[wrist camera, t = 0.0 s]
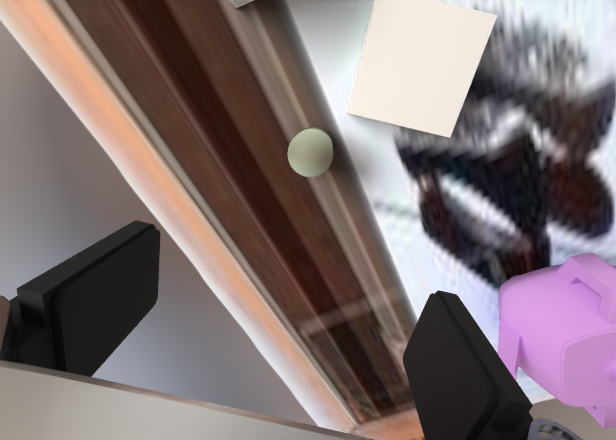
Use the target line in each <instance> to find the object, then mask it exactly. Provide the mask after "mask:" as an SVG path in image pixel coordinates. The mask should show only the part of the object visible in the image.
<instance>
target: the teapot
mask: <svg viewBox="0 0 616 440" xmlns="http://www.w3.org/2000/svg"><path fill="white" fill-rule="evenodd" d="M499 317H500V331H499V344H498V355H499V357H500V358H501V360H502V361H503V363H504V364H505V366H506V367H507V368H508V370H509V371H510V373H511V374H512V376H513V377H514V379H515V380H516V373H517V369H518V366H519V367H520V368H521V369H522V370H523V371H524V372H525V373H526V374H527V375H528V376H529V377H530V378H531V379H533V380H534V381H535V382H536V383H537V384H539V385H540V386H541V387H543V388H544V389H545V390H546V391H548V392H549V393H550V394H552V395H553V396H554V397H556V398H557V399H558V400H560V401H561V402H563V403H564V404H566V405H571V406H577V407H584V408H585V409H586V410H587V411H588V412H589V413H590V414H591V415H592V416H593V417H594V418H595V419H596V420H597V421H598V422H599V423H600V425H601V426H602V427H603V428H608V427H615V426H616V266H613V265H609V264H607V263H606V262H605V261H603V260H602V259H600V258H599V257H598V256H596V255H595V254H594V253H589V254H583V255H578V256H572V257H570V258H569V259H568V260H567V261H566V262H565V263H564V264H563V265H556V266H551V267H546V268H542V269H538V270H535V271H532V272H528V273H525V274H522V275H516V276H513V277H512V278H510V279H509V280H507V281H506V282H504V283H503V284H502V285H501V287H500V290H499Z"/></svg>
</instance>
